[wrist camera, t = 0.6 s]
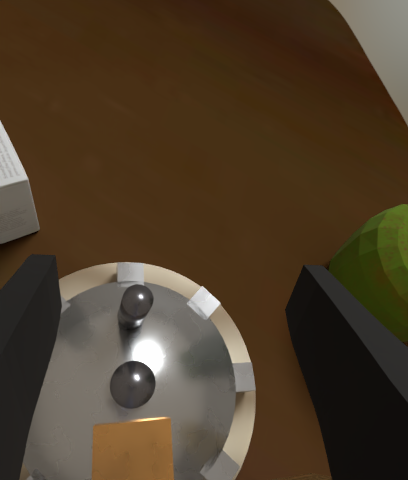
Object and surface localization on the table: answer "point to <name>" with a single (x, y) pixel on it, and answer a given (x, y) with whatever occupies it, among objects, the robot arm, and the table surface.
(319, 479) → the wooden block
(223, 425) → the sprocket
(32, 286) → the robot arm
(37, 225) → the skincare box
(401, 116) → the table surface
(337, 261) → the apple
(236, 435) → the base plate
